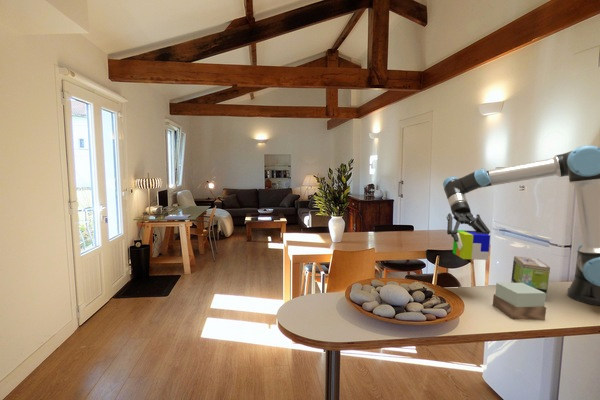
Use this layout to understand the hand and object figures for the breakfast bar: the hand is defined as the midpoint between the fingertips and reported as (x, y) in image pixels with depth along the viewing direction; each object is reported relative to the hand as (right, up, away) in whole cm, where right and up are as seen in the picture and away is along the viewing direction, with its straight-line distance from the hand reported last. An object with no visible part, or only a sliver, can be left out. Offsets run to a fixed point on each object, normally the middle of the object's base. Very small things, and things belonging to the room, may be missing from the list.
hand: (474, 248), depth 139 cm
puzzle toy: (0, -4, +3) cm, 5 cm away
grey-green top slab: (+11, -18, -12) cm, 24 cm away
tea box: (+28, -22, +10) cm, 37 cm away
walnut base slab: (+11, -23, -11) cm, 28 cm away
